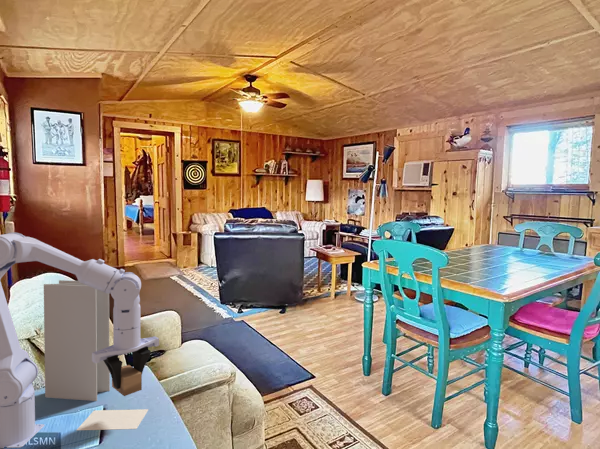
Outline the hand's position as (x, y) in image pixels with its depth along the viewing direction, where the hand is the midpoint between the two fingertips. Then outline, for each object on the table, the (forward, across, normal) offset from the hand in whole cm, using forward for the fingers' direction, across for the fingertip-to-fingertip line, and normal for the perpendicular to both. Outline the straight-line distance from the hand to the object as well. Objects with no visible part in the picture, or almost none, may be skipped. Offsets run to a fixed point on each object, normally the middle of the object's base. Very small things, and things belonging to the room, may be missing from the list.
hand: (127, 383), depth 86 cm
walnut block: (+1, 0, 0) cm, 1 cm away
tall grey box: (+9, +4, -21) cm, 23 cm away
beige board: (+9, +2, -2) cm, 9 cm away
